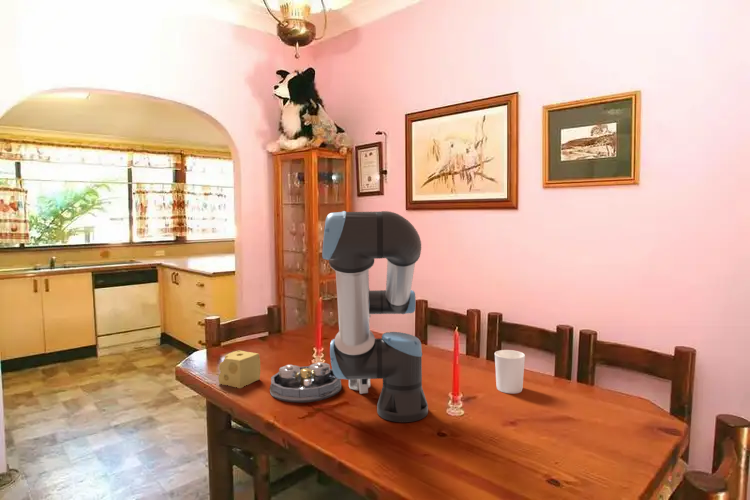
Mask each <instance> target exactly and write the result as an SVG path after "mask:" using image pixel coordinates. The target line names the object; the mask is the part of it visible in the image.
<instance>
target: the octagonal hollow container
mask: <svg viewBox="0 0 750 500" xmlns="http://www.w3.org/2000/svg"><path fill="white" fill-rule="evenodd" d="M348 387H349V389H350V390H354V391H360V389H359V379H351V380H348ZM369 388H371V379H368V389H369Z"/></svg>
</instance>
